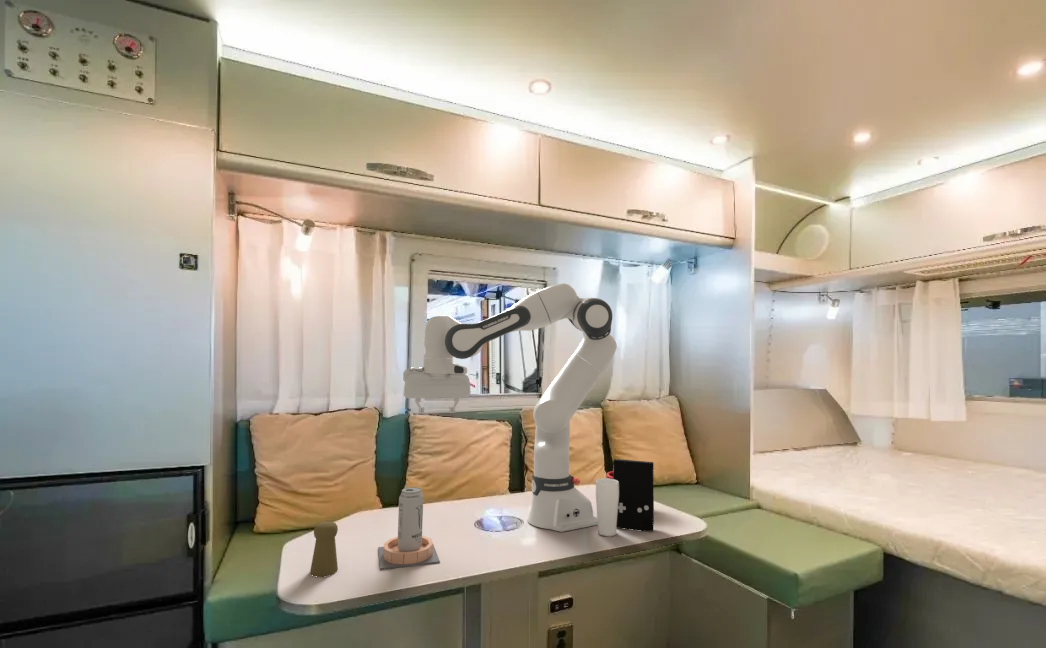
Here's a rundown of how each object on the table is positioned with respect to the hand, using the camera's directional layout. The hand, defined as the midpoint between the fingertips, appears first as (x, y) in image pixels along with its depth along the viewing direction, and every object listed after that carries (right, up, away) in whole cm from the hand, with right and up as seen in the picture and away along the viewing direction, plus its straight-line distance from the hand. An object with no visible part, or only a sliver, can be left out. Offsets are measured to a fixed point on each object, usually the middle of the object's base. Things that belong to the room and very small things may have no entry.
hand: (436, 413), depth 147 cm
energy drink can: (-2, -30, -26) cm, 40 cm away
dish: (-3, -31, -26) cm, 41 cm away
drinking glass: (+51, -34, -8) cm, 62 cm away
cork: (-20, -31, -35) cm, 51 cm away
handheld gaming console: (+60, -34, -3) cm, 69 cm away
